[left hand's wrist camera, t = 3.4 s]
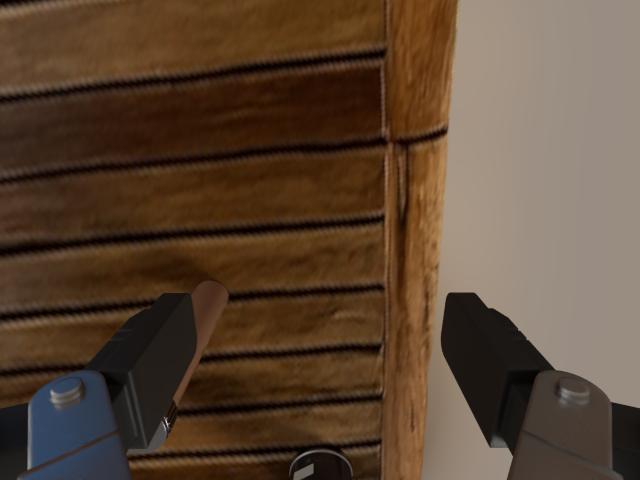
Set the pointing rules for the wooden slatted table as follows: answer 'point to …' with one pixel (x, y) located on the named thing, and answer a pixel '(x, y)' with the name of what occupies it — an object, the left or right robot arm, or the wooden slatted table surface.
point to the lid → (160, 430)
